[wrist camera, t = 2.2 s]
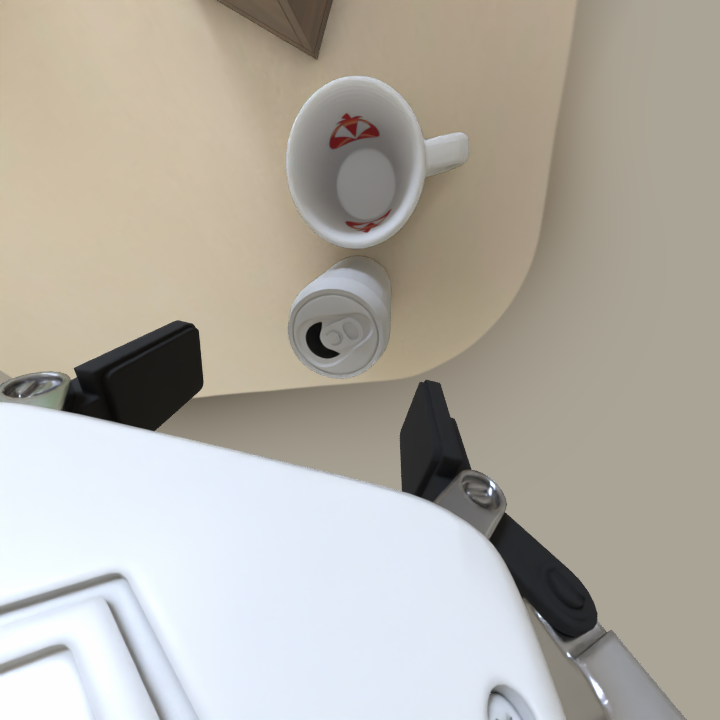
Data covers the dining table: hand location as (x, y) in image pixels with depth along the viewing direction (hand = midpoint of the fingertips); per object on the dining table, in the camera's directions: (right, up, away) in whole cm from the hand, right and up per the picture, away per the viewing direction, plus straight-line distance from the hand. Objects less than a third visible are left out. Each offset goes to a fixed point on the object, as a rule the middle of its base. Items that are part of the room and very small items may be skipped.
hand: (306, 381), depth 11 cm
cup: (+4, +15, +11) cm, 19 cm away
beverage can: (+2, +8, +15) cm, 17 cm away
